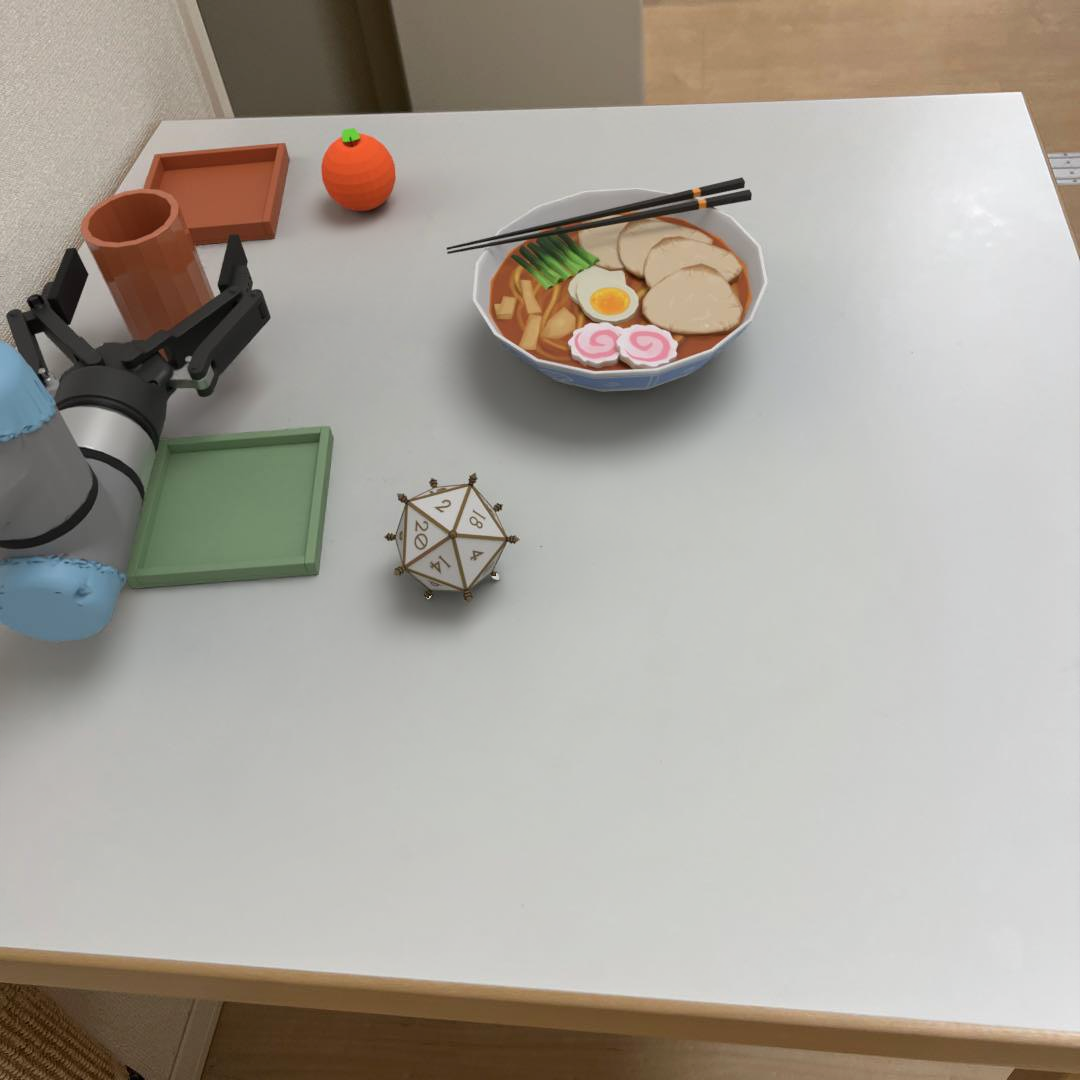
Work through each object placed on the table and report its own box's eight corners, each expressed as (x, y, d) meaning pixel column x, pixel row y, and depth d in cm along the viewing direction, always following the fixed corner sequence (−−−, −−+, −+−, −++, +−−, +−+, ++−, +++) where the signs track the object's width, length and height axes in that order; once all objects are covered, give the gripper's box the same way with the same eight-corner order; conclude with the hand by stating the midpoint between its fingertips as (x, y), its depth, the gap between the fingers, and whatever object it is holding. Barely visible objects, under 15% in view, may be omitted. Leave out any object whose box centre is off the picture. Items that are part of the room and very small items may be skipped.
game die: (481, 620, 76) (492, 625, 66) (369, 579, 76) (362, 578, 66) (524, 504, 77) (541, 491, 67) (413, 462, 76) (413, 443, 66)
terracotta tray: (135, 250, 101) (127, 233, 100) (160, 170, 110) (154, 154, 108) (274, 238, 101) (269, 221, 99) (289, 159, 109) (285, 142, 108)
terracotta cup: (122, 360, 91) (63, 242, 82) (160, 303, 96) (108, 185, 87) (202, 368, 90) (152, 250, 81) (237, 310, 94) (193, 191, 85)
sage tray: (131, 588, 76) (124, 577, 75) (165, 451, 84) (159, 439, 83) (318, 574, 75) (313, 562, 74) (333, 437, 84) (329, 425, 83)
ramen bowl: (494, 474, 80) (481, 395, 74) (450, 287, 94) (436, 207, 88) (814, 411, 82) (829, 328, 75) (723, 237, 96) (729, 155, 90)
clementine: (324, 186, 106) (306, 120, 100) (392, 172, 106) (379, 105, 101) (336, 232, 101) (318, 165, 95) (407, 216, 101) (394, 148, 96)
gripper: (-45, 487, 79) (31, 302, 92) (289, 461, 78) (317, 279, 91) (-99, 414, 73) (-11, 228, 86) (261, 386, 72) (295, 203, 85)
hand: (158, 254), depth 89 cm, fingers open, 13 cm apart
